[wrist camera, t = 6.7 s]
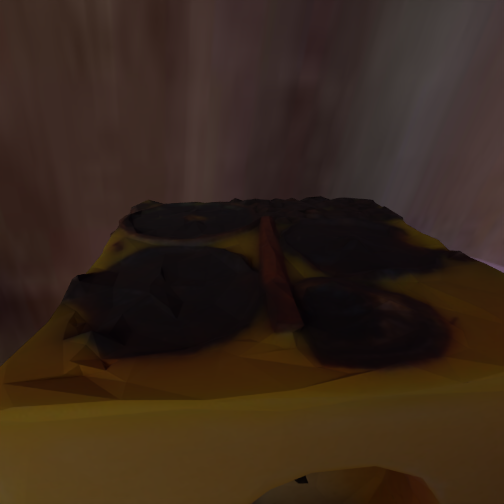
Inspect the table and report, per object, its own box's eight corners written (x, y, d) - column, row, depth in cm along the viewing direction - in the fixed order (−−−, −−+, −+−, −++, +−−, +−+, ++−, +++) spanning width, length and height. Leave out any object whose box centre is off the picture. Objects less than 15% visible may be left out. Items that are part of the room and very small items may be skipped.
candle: (160, 382, 17) (87, 702, 8) (129, 198, 13) (-111, 418, 4) (344, 369, 18) (476, 645, 8) (372, 191, 13) (688, 357, 4)
